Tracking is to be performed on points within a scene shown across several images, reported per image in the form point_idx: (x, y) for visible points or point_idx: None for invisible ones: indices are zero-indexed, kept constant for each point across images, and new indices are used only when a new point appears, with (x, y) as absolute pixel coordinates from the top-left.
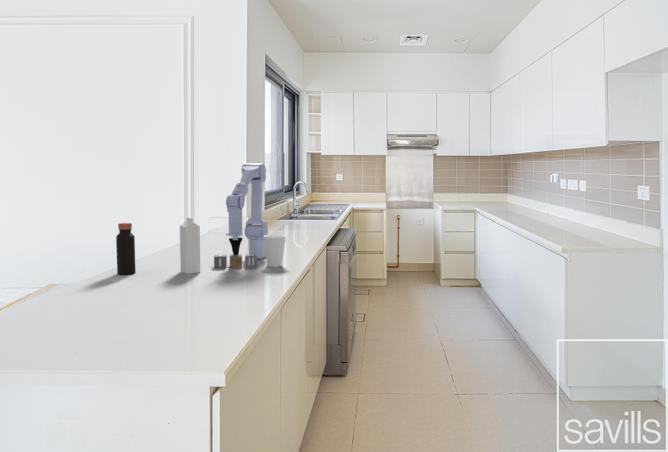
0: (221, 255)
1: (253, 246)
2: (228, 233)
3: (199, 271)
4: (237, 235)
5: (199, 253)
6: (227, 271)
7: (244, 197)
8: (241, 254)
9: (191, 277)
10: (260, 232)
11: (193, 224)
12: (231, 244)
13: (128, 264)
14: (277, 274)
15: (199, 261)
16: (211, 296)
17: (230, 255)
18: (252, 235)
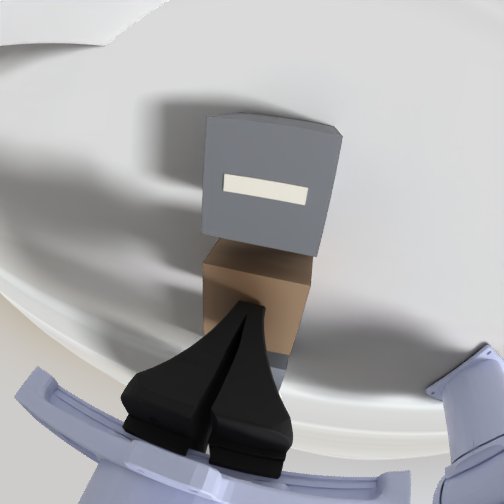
0: (271, 200)
1: (468, 419)
2: (160, 482)
3: (99, 42)
4: (35, 418)
5: (9, 42)
6: (122, 193)
7: None
8: (285, 352)
9: (33, 46)
10: (446, 498)
11: None
12: (173, 358)
13: None
14: (95, 342)
15: (54, 40)
16: None
17: (252, 278)
18: (489, 463)
